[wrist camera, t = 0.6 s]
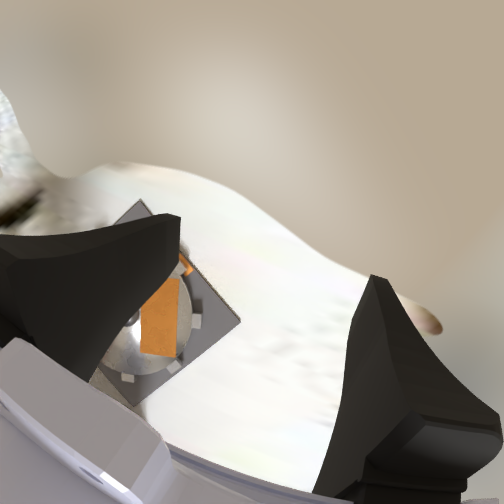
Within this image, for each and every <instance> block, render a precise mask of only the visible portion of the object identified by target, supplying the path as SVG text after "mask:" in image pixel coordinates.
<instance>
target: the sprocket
mask: <svg viewBox="0 0 504 504" xmlns="http://www.w3.org/2000/svg"><path fill="white" fill-rule="evenodd" d="M187 270H188V268H187V267H186V266H185V265H184V263H183V262H182V261H181V260H180V258H179V263H178V265H177V266H176V267H175V269H174V270H173V272H172V273H171V275H170V276H169V277H168V279H167V280H166V281H165V282H164V284H163V285H162V286H161V287H160V288H159V289H158V290H157V291H156V292H155V293H154V294H153V295H152V296H151V297H150V298H149V299H148V300H147V301H146V303H145V304H144V305H143V306H142V307H141V308H140V309H139V310H138V311H137V312H136V313H135V314H134V315H133V316H132V317H131V318H130V320H129V321H128V322H127V323H126V324H125V326H124V327H123V328H122V330H121V331H120V333H119V334H118V335H117V337H116V338H115V340H114V341H113V342H112V344H111V345H110V347H109V348H108V350H107V352H106V353H105V355H104V356H103V358H102V359H101V361H100V362H102V363H103V364H104V365H106V366H108V367H109V368H111V369H113V370H116V371H118V372H121V376H122V381H126V382H132V383H134V382H135V381H136V380H137V375H146V374H151V373H154V372H158V371H160V370H162V369H164V368H165V367H166V369H167V370H168V371H169V372H170V373H171V374H173V373H174V372H175V371H177V370H178V369H179V368H180V367H182V365H183V364H184V363H183V362H182V361H181V360H180V358H179V357H178V356H179V355H180V354H181V352H182V351H183V349H184V348H185V346H186V344H187V343H188V340H189V338H190V335H191V331H192V328H197V329H201V327H202V320H203V313H202V312H194V310H193V303H192V298H191V294H190V291H189V289H188V286H187V284H186V282H185V281H184V279H183V277H182V275H183V274H184V273H185V272H186V271H187Z"/></svg>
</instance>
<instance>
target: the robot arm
mask: <svg viewBox="0 0 504 504" xmlns="http://www.w3.org/2000/svg"><path fill="white" fill-rule="evenodd" d="M180 223H181V217H178V216H175V215H171V214H168V213H166V214H158V215H153V216H149V217H145V218H141V219H137V220H133V221H129V222H125V223H121V224H117V225H112V226H108V227H104V228H100V229H95V230H90V231H84V232H77V233H70V234H60V235H48V236H15V235H3V234H0V504H499V499H497V498H493V499H492V498H491V499H472V500H467V501H463V502H461V493H463V492H465V491H466V489H467V478H469V477H470V476H472V475H473V474H474V473H476V472H477V471H478V470H480V469H481V468H483V467H484V466H485V465H487V464H488V463H489V462H490V461H492V460H493V459H494V458H495V457H496V456H497V454H498V453H499V451H500V450H501V448H502V445H503V435H502V428H501V423H500V416H499V414H498V413H496V412H495V411H494V410H493V409H491V408H490V407H489V406H487V405H486V404H485V403H484V402H482V401H481V400H480V399H478V398H477V397H476V396H475V395H473V393H471V392H470V391H469V390H468V389H467V388H466V387H465V386H464V385H463V384H462V383H461V382H460V381H459V380H457V378H456V377H455V376H454V375H453V374H452V373H451V372H450V371H449V370H448V369H447V368H446V367H445V366H444V365H443V363H442V362H441V361H440V360H439V359H438V358H437V356H436V355H435V354H434V352H433V351H432V350H431V349H430V347H429V346H428V345H427V343H426V342H425V341H424V339H423V338H422V336H421V335H420V333H419V332H418V330H417V329H416V327H415V326H414V324H413V323H412V321H411V320H410V318H409V316H408V315H407V313H406V311H405V309H404V308H403V306H402V304H401V302H400V301H399V299H398V297H397V295H396V294H395V292H394V290H393V288H392V286H391V285H390V283H389V281H388V280H387V279H385V278H382V277H378V276H375V275H371V276H370V278H369V280H368V283H367V285H366V288H365V290H364V292H363V295H362V297H361V300H360V302H359V304H358V307H357V309H356V311H355V313H354V316H353V318H352V322H351V326H350V331H349V336H348V341H347V350H346V360H345V371H344V380H343V389H342V396H341V402H340V407H339V411H338V415H337V419H336V422H335V426H334V430H333V433H332V436H331V440H330V443H329V446H328V450H327V453H326V456H325V459H324V462H323V465H322V467H321V470H320V473H319V476H318V478H317V481H316V484H315V486H314V489H313V491H312V493H308V492H304V491H300V490H296V489H292V488H288V487H285V486H281V485H277V484H274V483H271V482H267V481H264V480H261V479H258V478H255V477H252V476H249V475H246V474H243V473H240V472H237V471H234V470H231V469H229V468H226V467H223V466H221V465H218V464H216V463H213V462H211V461H208V460H206V459H203V458H201V457H198V456H196V455H194V454H191V453H189V452H187V451H184V450H182V449H180V448H178V447H176V446H173V445H171V444H169V443H167V442H165V441H164V440H163V438H162V437H161V435H160V434H159V433H158V432H157V431H156V430H155V429H154V428H152V427H151V426H150V425H149V424H148V423H147V422H146V421H145V420H144V419H143V418H142V417H140V416H139V415H137V414H136V413H134V412H133V411H131V410H130V409H128V408H127V407H125V406H124V405H122V404H121V403H120V402H118V401H117V400H115V399H113V398H111V397H110V396H108V395H106V394H105V393H103V392H101V391H99V390H98V389H96V388H95V387H93V386H91V385H90V384H88V382H89V380H90V378H91V376H92V375H93V373H94V371H95V370H96V368H97V366H98V364H99V363H100V361H101V359H102V358H103V356H104V355H105V353H106V352H107V350H108V348H109V347H110V345H111V344H112V342H113V341H114V340H115V338H116V337H117V335H118V334H119V333H120V331H121V330H122V328H123V327H124V326H125V324H126V323H127V322H128V321H129V320H130V318H131V317H132V316H133V315H134V314H135V313H136V312H137V311H138V310H139V309H140V308H141V307H142V306H143V305H144V304H145V303H146V301H147V300H148V299H149V298H150V297H151V296H152V295H153V294H154V293H155V292H156V291H157V290H158V289H159V288H160V287H161V286H162V285H163V284H164V282H165V281H166V280H167V279H168V277H169V276H170V275H171V273H172V272H173V270H174V269H175V267H176V266H177V265H178V263H179V244H180Z"/></svg>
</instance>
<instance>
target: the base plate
mask: <svg viewBox="0 0 504 504" xmlns="http://www.w3.org/2000/svg"><path fill="white" fill-rule="evenodd" d="M149 216H152V215H151V214H150V213H149V212H148V210H147V209H146V208H145V207H144V205H143V204H142V203H141V201H139V202H138V203H137V204H136V205H135V206H134V207H133V208H132V209H131V210H129V211H128V212H127V213H126V214H125V215H124V216H123V217H122V218H121V219H120V220H119V221H118V222H117V223H116V224H115V225H117V224H121V223H125V222H129V221H133V220H137V219H141V218H145V217H149ZM179 258H180V260H181V261H182V262H183V263H184V265H185V266H186V267H187V268H188V270H187V271H186V272H185V273H184V274H183V275H182V277H183V279H184V281H185V282H186V284H187V286H188V289H189V291H190V294H191V298H192V303H193V310H194V312H202V313H203V320H202V327H201V329H197V328H192V331H191V335H190V338H189V340H188V343H187V344H186V346H185V348H184V349H183V351H182V352H181V354H180V355H179V356H178V357H179V358H180V360H181V361H182V362H183V363H184V364H183V365H182V367H180V368H179V369H178V370H177V371H175V372H174V373H173V374H171V373H170V372H169V371H168V370H167V369H166V367H165V368H164V369H162V370H160V371H158V372H154V373H151V374H146V375H137V380H136V381H135V382H134V383H132V382H126V381H122V376H121V372H118V371H116V370H113V369H111V368H109V367H108V366H106V365H104V364H103V363H102V362H100V363H99V364H98V368H99V369H100V370H101V371H102V372H103V374H104V375H105V376H106V377H107V378H108V379H109V381H110V382H111V383H112V384H113V385H114V386H115V387H116V389H117V390H118V391H119V392H120V393H121V394H122V395H123V396H124V397H125V399H126V400H127V401H128V402H129V403H130V404H131V405H132V406H133V407H134V406H135V405H136V404H138V403H139V402H140V401H142V400H143V399H144V398H146V397H147V396H148V395H150V394H151V393H152V392H154V391H155V390H156V389H157V388H159V387H160V386H161V385H163V384H164V383H165V382H167V381H168V380H169V379H170V378H172V377H173V376H174V375H176V374H177V373H178V372H179V371H181V370H182V369H183V368H185V367H186V366H187V365H188V364H190V363H191V362H192V361H193V360H195V359H196V358H197V357H199V356H200V355H201V354H202V353H204V352H205V351H206V350H207V349H209V348H210V347H211V346H212V345H214V344H215V343H216V342H217V341H218V340H220V339H221V338H222V337H223V336H225V335H226V334H227V333H228V332H230V331H231V330H232V329H233V328H234V327H236V326H237V325H238V324H239V323H241V322H240V321H239V320H238V318H237V317H236V316H235V315H234V314H233V313H232V312H231V310H230V309H229V308H228V307H227V306H226V305H225V303H224V302H223V301H222V300H221V299H220V298H219V297H218V295H217V294H216V293H215V292H214V291H213V290H212V288H211V287H210V286H209V285H208V284H207V282H206V281H205V280H204V279H203V278H202V277H201V275H200V274H199V273H198V272H197V271H196V269H195V268H194V267H193V266H192V265H191V263H190V262H189V261H188V260H187V259H186V257H185V256H184V255H183V254H182V253H181V251H180V250H179Z"/></svg>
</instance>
